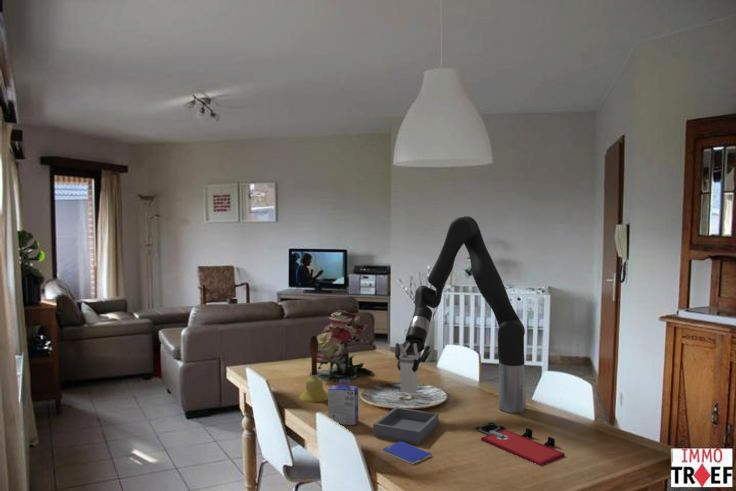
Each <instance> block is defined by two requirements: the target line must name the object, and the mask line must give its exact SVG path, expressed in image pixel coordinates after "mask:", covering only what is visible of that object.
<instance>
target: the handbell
mask: <svg viewBox="0 0 736 491" xmlns="http://www.w3.org/2000/svg"><path fill="white" fill-rule="evenodd" d="M317 336H318V335H316V334H312V335H310V341H309V354H310V357H311V372H312V375H311V377H310V376H309V377H308V378H307V379H306V381H305V390H304V391H303V392H302V393H301V394H300V395H299V398H298V399H299V400H300V401H302V402H304V403H305V402H307V403H320V402H324V401H327V400H328V391H326V390H325V389H324V385H323V384H324V381H323V379H321V378H319V377H318V376H317V371H318V365H317V364H318V363H317V353H318V340H317Z"/></svg>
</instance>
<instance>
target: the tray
mask: <svg viewBox="0 0 736 491" xmlns="http://www.w3.org/2000/svg"><path fill="white" fill-rule="evenodd" d="M439 418H440V416H439V413H437V412H429V411H423V410H416V409H412V408H411V409H410V408H402V407H398V406H395V407H394V408H393V409H391V410H390V411H388V412H387V413H386V414H385V415H384V416H382V417H381V418H379V419H378V420H377V421H376V422H374V423H373V427H372V428H373V437H376V438H382V439H387V440H393V441H398V442H400V441H401V442H404V443H406V444H408V443H409V444H414V445H418V446H420V445H421V444H422V443H423V442H424V441H425V440H426V439H427V438H429V436H430V435H431V434H432V433H433V432H434V431H435V430H436V429H437V427H438V428H439V426H440V423H439V421H440V420H439Z"/></svg>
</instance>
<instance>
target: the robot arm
mask: <svg viewBox="0 0 736 491" xmlns="http://www.w3.org/2000/svg"><path fill="white" fill-rule="evenodd" d="M444 239H445V240H444V243H443V244H442V248H441V250H440V253H439V255H438V258H437V260H436V261H435V263H434V265H433V267H432V269H431V271H430V273H429V275H428V277H427V282H428V283H429V284H430V285H431V286H433V287H434V288H435V289H433V288H432V287H428V286H426V285H420V286H418V287H417V288H416V290H415V293H414V312H413V315H412V319H411V320H410V322H409V326H408V329H407V332H406V335H405V339H404V340H405V341H404V342H403V343H399V342H397V343H395V347H394V348H395V350H394V357H395V359H396V360H397V364H396V367H397V369H398V371H400V359H401V358H402V357H410V356H414V358H415V359H416V360H415V361H414V364H413V367H412V370H413V372H416V371H417V372H418V369H419V365H420V364H421V363H423V364H424V363H425V362H426V361H427V359H428V358H429V356H430V354H431V352H432V348H431V346H430V345H425V344H426V342H427V339H428V338H427V337H428V333H429V330H430V325H431V321H432V317H433V310H432V309H436V308H437V307H439V306H440V305H441V301H442V296H443V291H444V287H445V284H446V283H447V281H448V279H449V277H450V275H451V274H452V271H453V267H454V264H455V260H456V257H457V255H458V253H459V251H460V249H461V248H462V247H463V245H464V246H465V248H466V250H467V253H468V255H469V260H470V268H471V274H472V277H473V280H474V282H475V285H476V287H477V288H478V292H479V293H480V295H481V296H482V298H483V299H484V301H485V302H486V303H487V304H488V305H489V307H490V309H491V311H492V312H493V315H494V317H495V320H496V322H497V325H498V331H497V356H498V409H499V410H500V411H502V412H504V413H511V414H517V413H518V414H520V413H521V414H523V413H524V411H525V410H526V408H527V407H526V403H527V402H526V400H527V397H526V396H527V395H526V392H527V390H526V382H525V360H526V359H525V332H526V329H525V328H526V327H525V326H524V324H523V323H522V321H521V319H520V318H519V316H518V314H517V313H516V310H515V309H514V307H513V305H512V303H511V300H510V298H509V296H508V292H507V290H506V289H507V288H506V287H505V285H504V282H503V280H502V278H501V276H500V273H499V271H498V269H497V267H496V265H495V263H494V261H493V259H492V257H491V255H490V252H489V250H488V248H487V247H486V243H485V242H484V238H483V235H482V232H481V229H480V226H479V223H478V222H477V221H476V220H475V218H473V217H471V216H468V215H467V216H461V217H457V218H455V219H453V220H452V221H451V222H450V224H449V227H448V230H447V233H446V237H445V238H444ZM422 351H423V352H422ZM420 353H422V354H420Z"/></svg>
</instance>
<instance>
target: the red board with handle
mask: <svg viewBox="0 0 736 491" xmlns="http://www.w3.org/2000/svg"><path fill="white" fill-rule="evenodd" d="M474 429H475V430H477V431H479V432H482V433H484V434H487V435H484V436H481V438H480V441H481V442H484V443H486V444H488V445H491V446H493V447H495V448H498V449H500V450H502V451H504V450H505V452H506V453H509V454H511V453H512V454H511V455H514V456H516V455H517V456H516V457H518V456H519V458H520V457H521V459H523V460H525V459H526V461H527V460H528V462H530V461H531V462H530V463H532V462H533V463H532V464H534V463H536V464H535V465H537V464H538V465H537V466H539V465H542V464H544V465H546V464H545V463H547V464H549V463H551V462H553V460H554V461H556V460H558V459H559V460H560V459H561V458H564V457H565V453H564V452H561V451H559V450H557V449H555V448H554V447H555V446H556V439H555V437H551V436H548V437H547V441H546V442H545V443H544V444H542V443H541V442H538V441H535V440H532V438H533V429H530V428H525V432H524V433H523V434H521V435H520V434H518V433H516V432H514V431H511V430H508V429H507V428H506V427H504V426H502V425H499V424H497V423H495V422H489V423H486V424H481V425H479V426H476V427H474ZM552 447H553V448H552ZM548 462H549V463H548ZM542 466H543V465H542Z"/></svg>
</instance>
